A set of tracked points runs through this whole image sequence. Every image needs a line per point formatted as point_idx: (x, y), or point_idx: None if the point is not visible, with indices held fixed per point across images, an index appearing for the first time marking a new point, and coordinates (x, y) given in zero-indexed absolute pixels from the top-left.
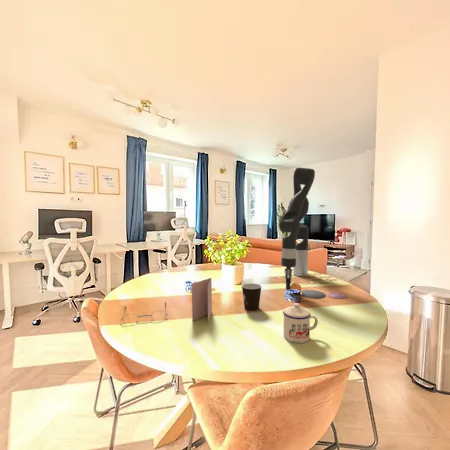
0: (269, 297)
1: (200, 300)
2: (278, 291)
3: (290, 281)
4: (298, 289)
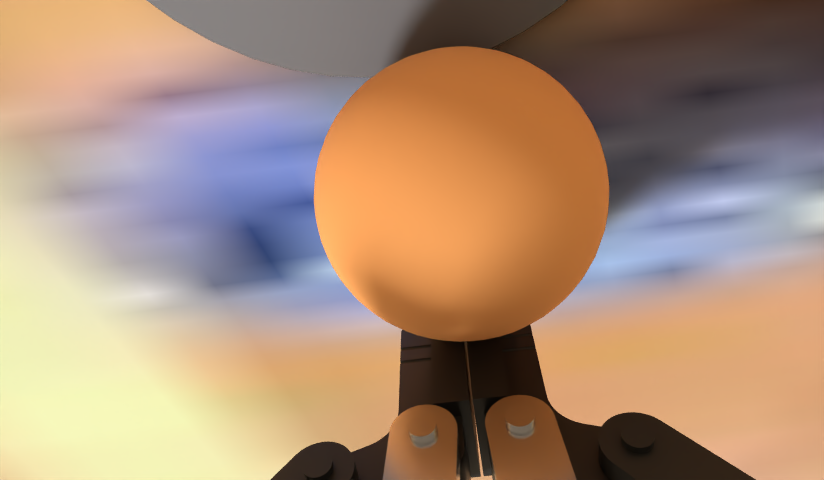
0: (766, 453)
1: None
2: None
3: (707, 452)
4: (587, 121)
